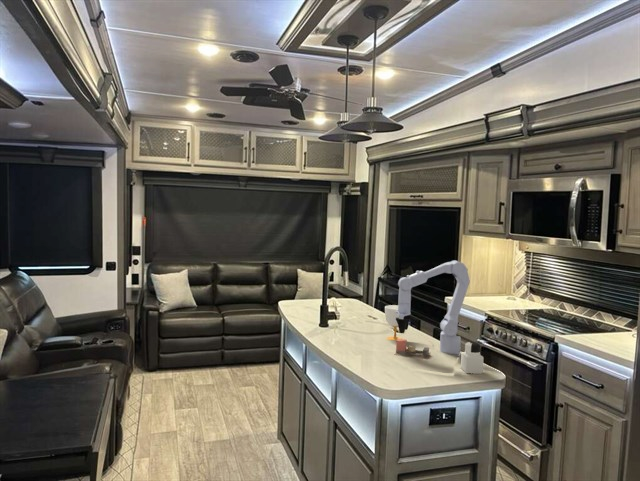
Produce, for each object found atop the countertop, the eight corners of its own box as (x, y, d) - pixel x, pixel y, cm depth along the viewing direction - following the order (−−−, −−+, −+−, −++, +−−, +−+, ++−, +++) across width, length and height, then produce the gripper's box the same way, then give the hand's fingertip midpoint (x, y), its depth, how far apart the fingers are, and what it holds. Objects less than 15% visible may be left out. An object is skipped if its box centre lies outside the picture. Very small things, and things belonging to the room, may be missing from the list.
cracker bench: (430, 355, 220) (431, 346, 220) (427, 361, 210) (427, 352, 209) (398, 351, 225) (399, 342, 225) (393, 357, 215) (394, 348, 215)
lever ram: (406, 351, 220) (406, 339, 220) (404, 353, 216) (405, 341, 216) (397, 350, 222) (398, 338, 222) (395, 352, 218) (396, 340, 217)
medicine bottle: (476, 368, 202) (478, 340, 202) (483, 374, 195) (484, 345, 195) (460, 368, 202) (461, 340, 201) (466, 373, 195) (467, 345, 194)
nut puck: (415, 353, 219) (416, 346, 218) (414, 355, 215) (414, 348, 215) (408, 352, 220) (408, 345, 220) (406, 354, 216) (406, 347, 216)
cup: (406, 343, 239) (407, 310, 239) (382, 341, 242) (384, 308, 241) (406, 337, 251) (407, 305, 250) (384, 335, 253) (385, 304, 252)
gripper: (399, 299, 231) (398, 327, 232) (392, 304, 218) (391, 333, 218) (413, 301, 229) (412, 328, 229) (408, 306, 215) (407, 335, 216)
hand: (403, 331), depth 224 cm, fingers open, 7 cm apart
